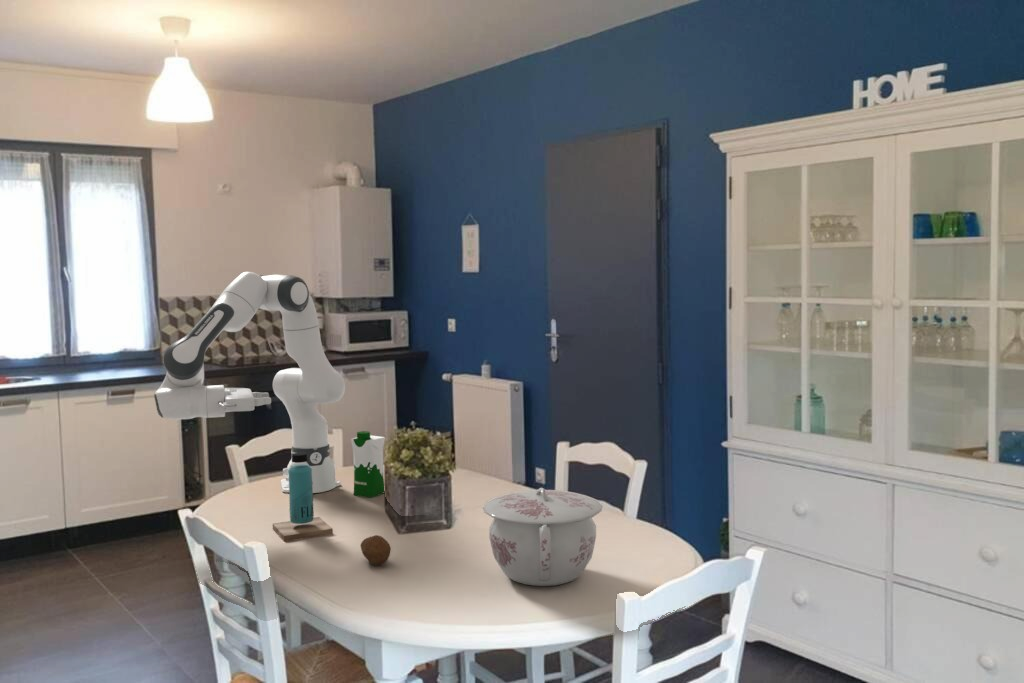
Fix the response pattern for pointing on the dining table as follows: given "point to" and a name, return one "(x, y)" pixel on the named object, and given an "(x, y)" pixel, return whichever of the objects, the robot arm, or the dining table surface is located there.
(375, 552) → the potato
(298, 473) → the beverage bottle
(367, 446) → the milk carton
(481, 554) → the dining table surface
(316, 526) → the trivet
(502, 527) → the chamber pot
